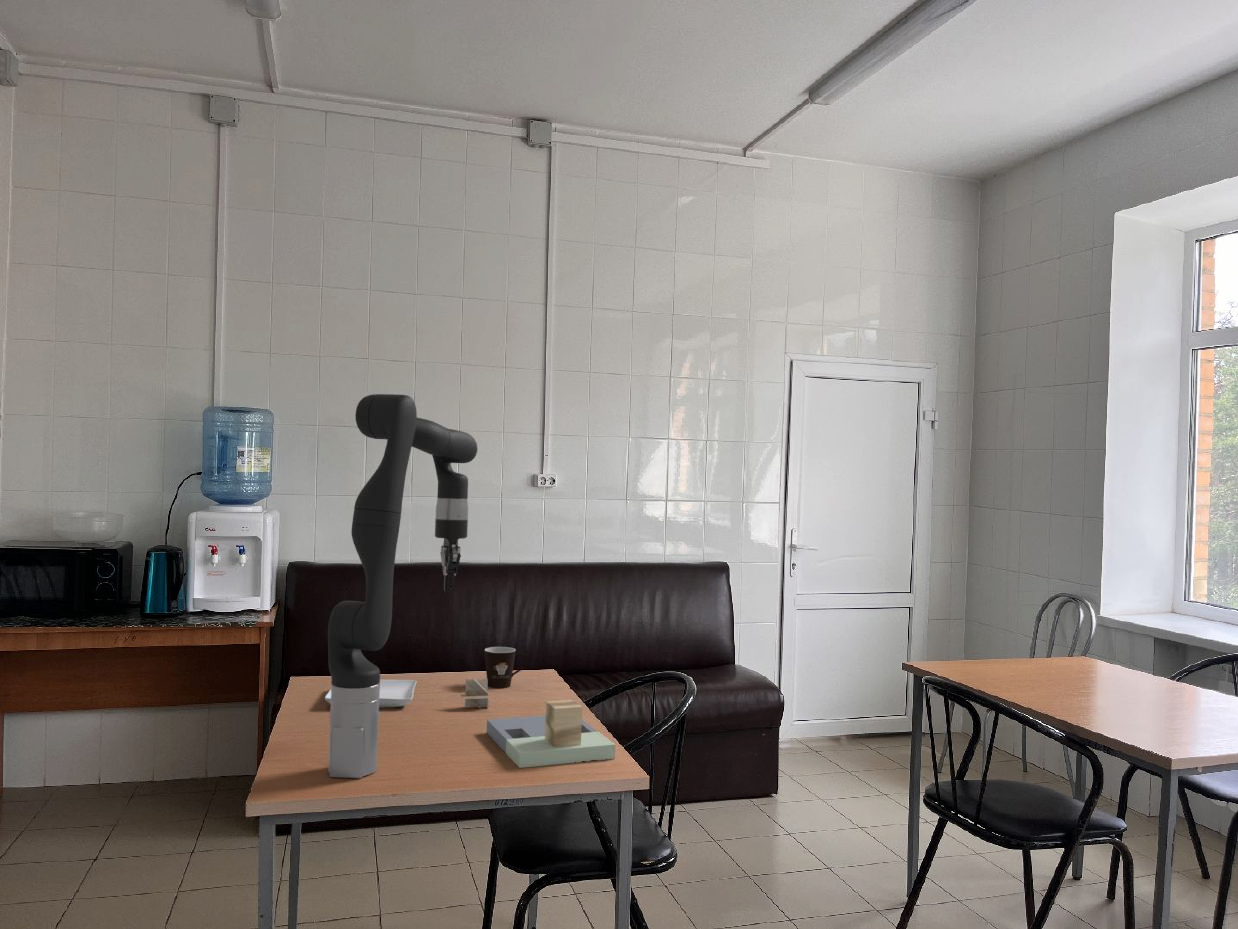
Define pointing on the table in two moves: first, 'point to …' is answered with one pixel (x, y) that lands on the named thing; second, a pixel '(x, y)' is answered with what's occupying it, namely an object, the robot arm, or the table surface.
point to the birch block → (563, 723)
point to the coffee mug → (501, 666)
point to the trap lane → (545, 743)
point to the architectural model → (476, 693)
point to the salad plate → (392, 693)
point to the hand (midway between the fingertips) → (448, 591)
